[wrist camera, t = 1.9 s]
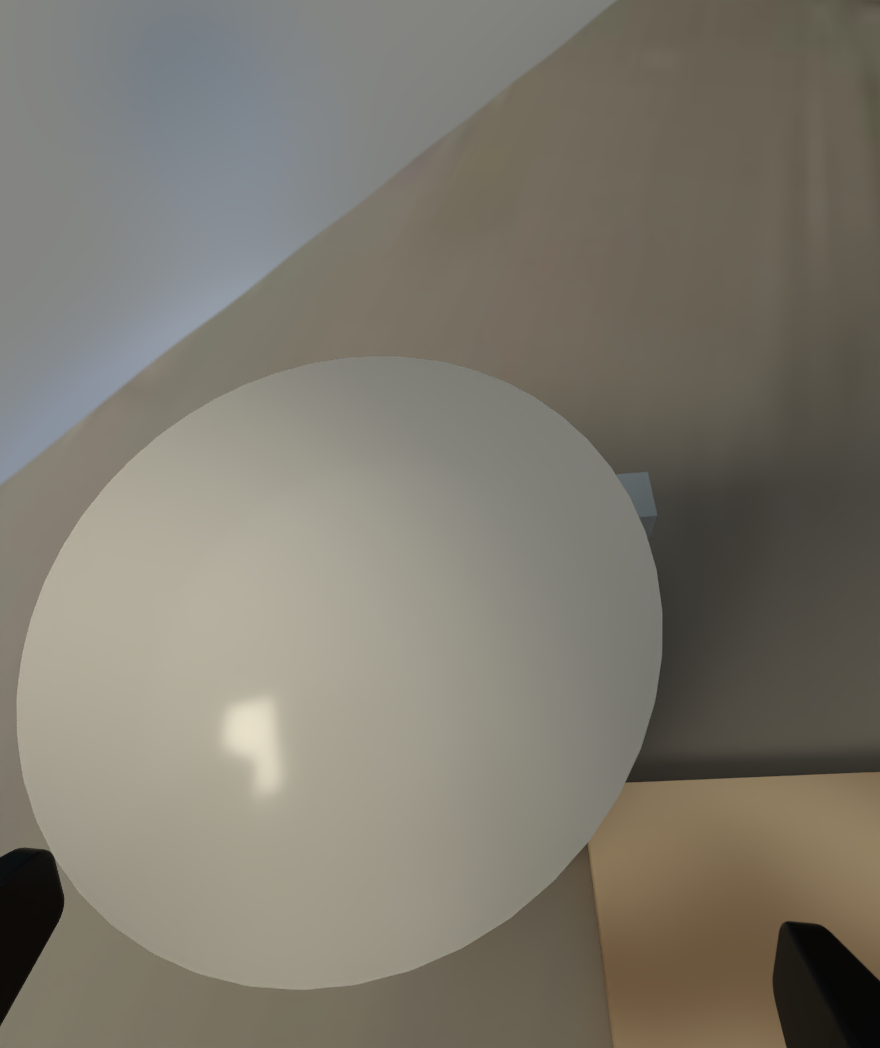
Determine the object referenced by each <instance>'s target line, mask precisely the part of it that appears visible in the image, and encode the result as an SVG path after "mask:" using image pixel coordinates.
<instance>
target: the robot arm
mask: <svg viewBox="0 0 880 1048" xmlns="http://www.w3.org/2000/svg"><path fill="white" fill-rule="evenodd" d="M63 907H64V894H63V890H62V886H61V882H60V878H59V874H58V870H57V866H56V862H55V859H54V856H53V854H52V853H51V852H50V851H48V850H44V849H34V848H18V849H15V850H13V851H11V852H9V853H7V854H5V855H4V856H2V857H0V1026H1V1024H2V1022H3V1020H4V1018H5V1017H6V1015H7V1013H8V1011H9V1009H10V1008H11V1006H12V1004H13V1002H14V1001H15V999H16V997H17V995H18V993H19V992H20V990H21V988H22V986H23V984H24V983H25V981H26V979H27V977H28V975H29V974H30V972H31V970H32V968H33V966H34V965H35V963H36V961H37V959H38V957H39V956H40V954H41V952H42V950H43V949H44V947H45V945H46V943H47V941H48V940H49V938H50V936H51V934H52V932H53V931H54V929H55V927H56V925H57V923H58V922H59V919H60V917H61V914H62V912H63ZM772 982H773V993H774V999H775V1004H776V1008H777V1012H778V1016H779V1020H780V1024H781V1028H782V1032H783V1036H784V1040H785V1044H786V1048H880V980H879V979H878V978H877V977H876V976H875V975H874V974H873V973H872V972H871V971H870V970H869V969H868V968H867V967H866V966H865V965H864V964H863V963H862V962H861V961H860V960H859V959H858V958H857V957H856V956H855V955H854V954H853V953H852V952H851V951H850V950H849V949H848V948H847V947H846V946H845V945H844V944H843V943H842V942H841V941H840V940H838V939H837V938H836V937H835V936H834V935H833V934H832V933H831V932H830V931H829V930H828V929H827V928H825V927H824V926H822V925H820V924H815V923H805V922H795V921H786V922H783V923H782V925H781V926H780V929H779V934H778V941H777V948H776V955H775V962H774V969H773V977H772Z"/></svg>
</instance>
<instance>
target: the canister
mask: <svg viewBox="0 0 880 1048" xmlns="http://www.w3.org/2000/svg"><path fill="white" fill-rule="evenodd" d="M661 660H662V605H661V598H660V591H659V584H658V576H657V570H656V566H655V563H654V559H653V556H652V552H651V549H650V545H649V542H648V539H647V535H646V532H645V529H644V527H643V525H642V523H641V521H640V518H639V516H638V514H637V512H636V510H635V507H634V505H633V503H632V501H631V499H630V497H629V495H628V493H627V492H626V490H625V489H624V487H623V486H622V484H621V482H620V481H619V479H618V478H617V476H616V475H615V473H614V471H613V470H612V468H611V467H610V465H609V464H608V463H607V462H606V461H605V459H604V458H603V457H602V456H601V455H600V454H599V452H598V451H597V450H596V449H595V448H594V446H593V445H592V444H591V443H590V442H589V441H588V439H587V438H585V437H584V436H583V435H582V434H581V433H580V432H579V431H578V430H577V429H576V428H574V427H573V426H572V425H571V424H570V423H569V422H568V421H567V420H566V419H564V418H563V417H562V416H561V415H559V414H558V413H557V412H555V411H554V410H552V409H551V408H549V407H548V406H546V405H545V404H544V403H542V402H541V401H539V400H538V399H536V398H535V397H533V396H531V395H529V394H528V393H526V392H524V391H522V390H520V389H518V388H516V387H514V386H512V385H510V384H508V383H506V382H505V381H502V380H499V379H497V378H494V377H491V376H489V375H486V374H483V373H481V372H478V371H476V370H473V369H469V368H465V367H461V366H457V365H453V364H449V363H445V362H440V361H433V360H426V359H419V358H412V357H391V356H369V357H354V358H342V359H336V360H330V361H324V362H318V363H311V364H308V365H304V366H300V367H296V368H292V369H289V370H285V371H281V372H278V373H275V374H272V375H270V376H267V377H264V378H261V379H259V380H256V381H253V382H250V383H248V384H245V385H243V386H241V387H239V388H237V389H235V390H233V391H231V392H228V393H226V394H224V395H222V396H220V397H218V398H216V399H214V400H212V401H211V402H209V403H207V404H206V405H204V406H202V407H201V408H199V409H197V410H195V411H194V412H192V413H190V414H189V415H187V416H185V417H184V418H183V419H181V420H180V421H179V422H177V423H176V424H174V425H173V426H172V427H170V428H169V429H167V430H166V431H165V432H163V433H162V434H160V435H159V436H158V437H157V438H155V439H154V440H153V441H152V442H151V443H150V444H148V445H147V446H146V447H145V448H144V449H143V450H141V451H140V452H139V453H138V454H137V455H136V456H135V457H133V458H132V459H131V460H130V461H129V462H128V463H127V464H126V465H125V466H124V467H123V468H122V469H121V471H120V472H119V473H118V474H117V475H116V476H115V477H114V478H113V479H112V480H111V481H110V482H109V483H108V484H107V485H106V486H105V487H104V489H103V490H102V491H101V493H100V494H99V495H98V496H97V498H96V499H95V500H94V501H93V503H92V504H91V505H90V506H89V508H88V509H87V510H86V511H85V513H84V514H83V515H82V517H81V518H80V520H79V522H78V523H77V525H76V526H75V528H74V529H73V531H72V532H71V534H70V536H69V537H68V539H67V540H66V542H65V543H64V545H63V547H62V548H61V550H60V552H59V554H58V556H57V558H56V560H55V562H54V564H53V566H52V568H51V570H50V572H49V574H48V576H47V578H46V580H45V582H44V585H43V588H42V590H41V593H40V596H39V598H38V601H37V604H36V606H35V609H34V612H33V614H32V617H31V621H30V625H29V629H28V633H27V637H26V641H25V645H24V649H23V653H22V658H21V666H20V674H19V682H18V690H17V740H18V747H19V754H20V760H21V767H22V774H23V780H24V783H25V786H26V789H27V793H28V796H29V799H30V803H31V806H32V809H33V812H34V816H35V819H36V821H37V823H38V825H39V827H40V829H41V831H42V833H43V835H44V837H45V839H46V842H47V844H48V846H49V848H50V850H51V852H52V854H53V856H54V858H55V859H56V861H57V862H58V864H59V865H60V866H61V868H62V869H63V871H64V872H65V873H66V875H67V876H68V878H69V879H70V880H71V882H72V883H73V885H74V886H75V887H76V889H77V890H78V892H79V893H80V894H81V895H82V896H83V897H84V898H85V899H86V900H87V901H88V902H89V903H90V904H91V905H92V906H93V907H94V908H95V909H96V910H97V911H98V912H99V913H100V914H101V915H102V916H103V917H104V918H105V919H106V920H107V921H108V922H109V923H110V924H111V925H112V926H113V927H115V928H116V929H117V930H119V931H120V932H122V933H123V934H125V935H126V936H128V937H129V938H131V939H132V940H134V941H135V942H137V943H138V944H139V945H141V946H142V947H144V948H145V949H147V950H148V951H150V952H151V953H153V954H155V955H157V956H159V957H162V958H164V959H166V960H168V961H170V962H173V963H175V964H177V965H179V966H182V967H184V968H186V969H188V970H191V971H193V972H195V973H197V974H201V975H205V976H209V977H213V978H217V979H221V980H225V981H229V982H233V983H237V984H241V985H245V986H251V987H265V988H279V989H293V990H307V989H318V988H329V987H339V986H350V985H357V984H361V983H365V982H369V981H373V980H377V979H381V978H384V977H388V976H392V975H396V974H400V973H404V972H407V971H411V970H413V969H415V968H418V967H420V966H422V965H425V964H427V963H429V962H432V961H434V960H436V959H439V958H441V957H443V956H445V955H448V954H450V953H452V952H455V951H457V950H459V949H462V948H463V947H465V946H467V945H468V944H470V943H471V942H473V941H475V940H476V939H478V938H479V937H481V936H483V935H484V934H486V933H487V932H489V931H491V930H492V929H494V928H495V927H497V926H499V925H500V924H502V923H503V922H505V921H507V920H508V919H510V918H511V917H512V916H514V915H515V914H516V913H517V912H518V911H519V910H521V909H522V908H523V907H524V906H525V905H526V904H528V903H529V902H530V901H531V900H532V899H533V898H535V897H536V896H537V895H538V894H539V893H541V892H542V891H543V890H544V889H545V888H546V887H548V886H549V885H550V884H551V883H552V882H553V881H554V880H555V879H556V878H557V877H558V876H559V875H560V874H561V872H562V871H563V870H564V869H565V868H566V867H567V866H568V864H569V863H570V862H571V861H572V860H573V859H574V858H575V856H576V855H577V854H578V853H579V852H580V851H581V850H582V848H583V847H584V846H585V845H586V844H587V843H588V842H589V841H590V839H591V838H592V836H593V835H594V833H595V832H596V830H597V829H598V827H599V825H600V824H601V822H602V821H603V819H604V818H605V816H606V815H607V813H608V812H609V810H610V809H611V807H612V806H613V804H614V802H615V801H616V799H617V798H618V796H619V795H620V793H621V790H622V788H623V786H624V784H625V782H626V780H627V778H628V775H629V773H630V771H631V769H632V767H633V765H634V763H635V760H636V758H637V756H638V754H639V752H640V750H641V747H642V744H643V740H644V737H645V734H646V730H647V727H648V724H649V720H650V717H651V714H652V710H653V707H654V704H655V699H656V693H657V686H658V680H659V673H660V666H661Z"/></svg>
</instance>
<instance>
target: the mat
mask: <svg viewBox="0 0 880 1048" xmlns="http://www.w3.org/2000/svg"><path fill="white" fill-rule="evenodd" d="M588 850H589V858H590V866H591V874H592V882H593V890H594V898H595V906H596V914H597V922H598V930H599V938H600V946H601V954H602V962H603V970H604V978H605V986H606V994H607V1002H608V1010H609V1018H610V1026H611V1034H612V1042H613V1048H786V1044H785V1040H784V1036H783V1032H782V1028H781V1024H780V1020H779V1016H778V1012H777V1008H776V1004H775V999H774V993H773V982H772V977H773V969H774V962H775V955H776V948H777V941H778V934H779V929H780V926H781V925H782V923H783V922H786V921H795V922H805V923H815V924H820V925H822V926H824V927H825V928H827V929H828V930H829V931H830V932H831V933H832V934H833V935H834V936H835V937H836V938H837V939H838V940H840V941H841V942H842V943H843V944H844V945H845V946H846V947H847V948H848V949H849V950H850V951H851V952H852V953H853V954H854V955H855V956H856V957H857V958H858V959H859V960H860V961H861V962H862V963H863V964H864V965H865V966H866V967H867V968H868V969H869V970H870V971H871V972H872V973H873V974H874V975H875V976H876V977H877V978H878V979H879V980H880V772H865V773H842V774H819V775H795V776H772V777H749V778H725V779H702V780H679V781H655V782H632V783H625V784H624V786H623V788H622V790H621V793H620V795H619V796H618V798H617V799H616V801H615V802H614V804H613V806H612V807H611V809H610V810H609V812H608V813H607V815H606V816H605V818H604V819H603V821H602V822H601V824H600V825H599V827H598V829H597V830H596V832H595V833H594V835H593V836H592V838H591V839H590V841H589V842H588Z"/></svg>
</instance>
